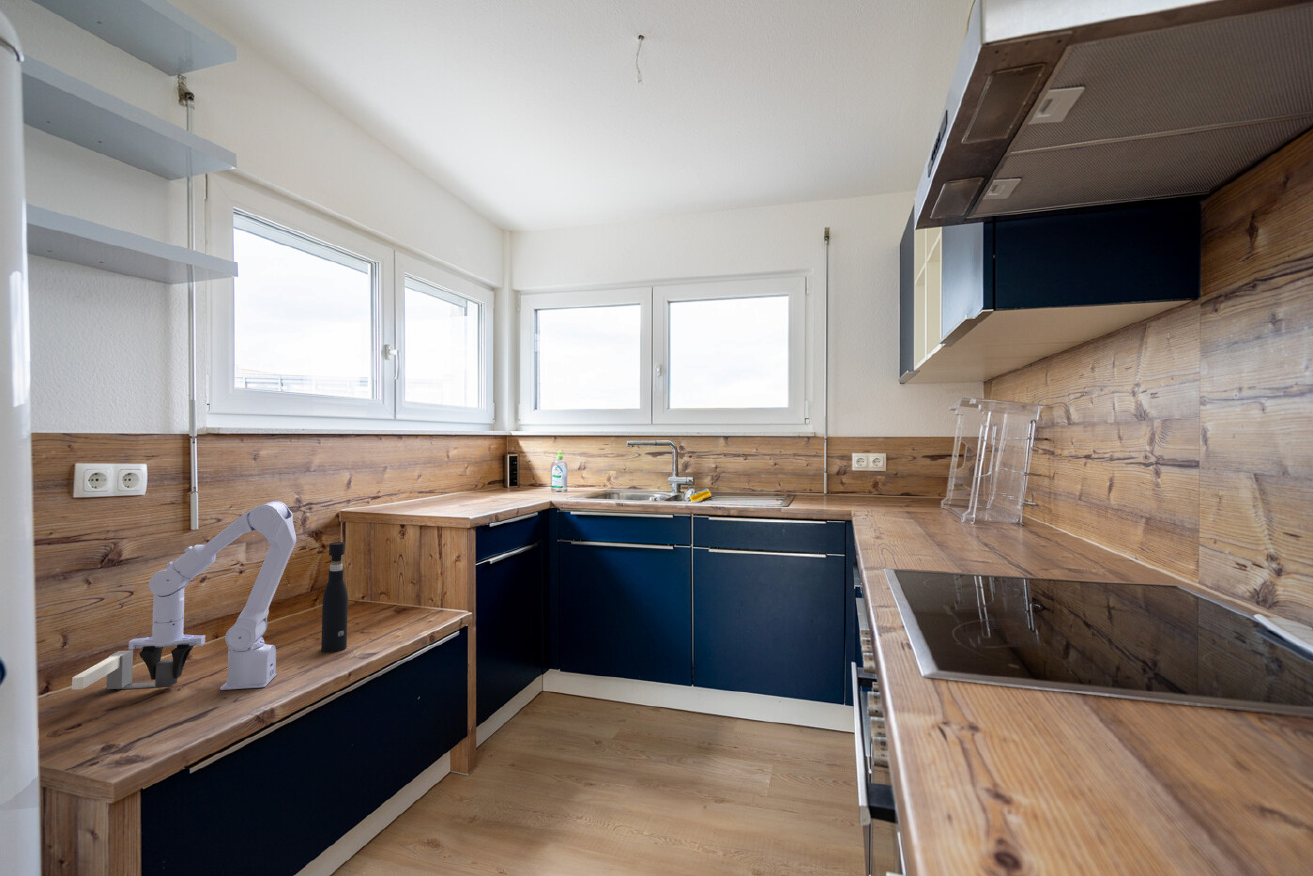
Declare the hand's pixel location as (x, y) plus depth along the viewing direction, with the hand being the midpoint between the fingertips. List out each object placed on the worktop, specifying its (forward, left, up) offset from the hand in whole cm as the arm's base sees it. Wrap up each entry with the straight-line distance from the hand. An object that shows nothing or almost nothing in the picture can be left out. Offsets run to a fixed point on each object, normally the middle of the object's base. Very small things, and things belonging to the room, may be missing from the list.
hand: (166, 677), depth 140 cm
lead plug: (0, 0, -1) cm, 1 cm away
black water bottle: (-30, -23, -3) cm, 38 cm away
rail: (+6, -3, -3) cm, 7 cm away
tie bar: (+11, +2, -3) cm, 12 cm away
